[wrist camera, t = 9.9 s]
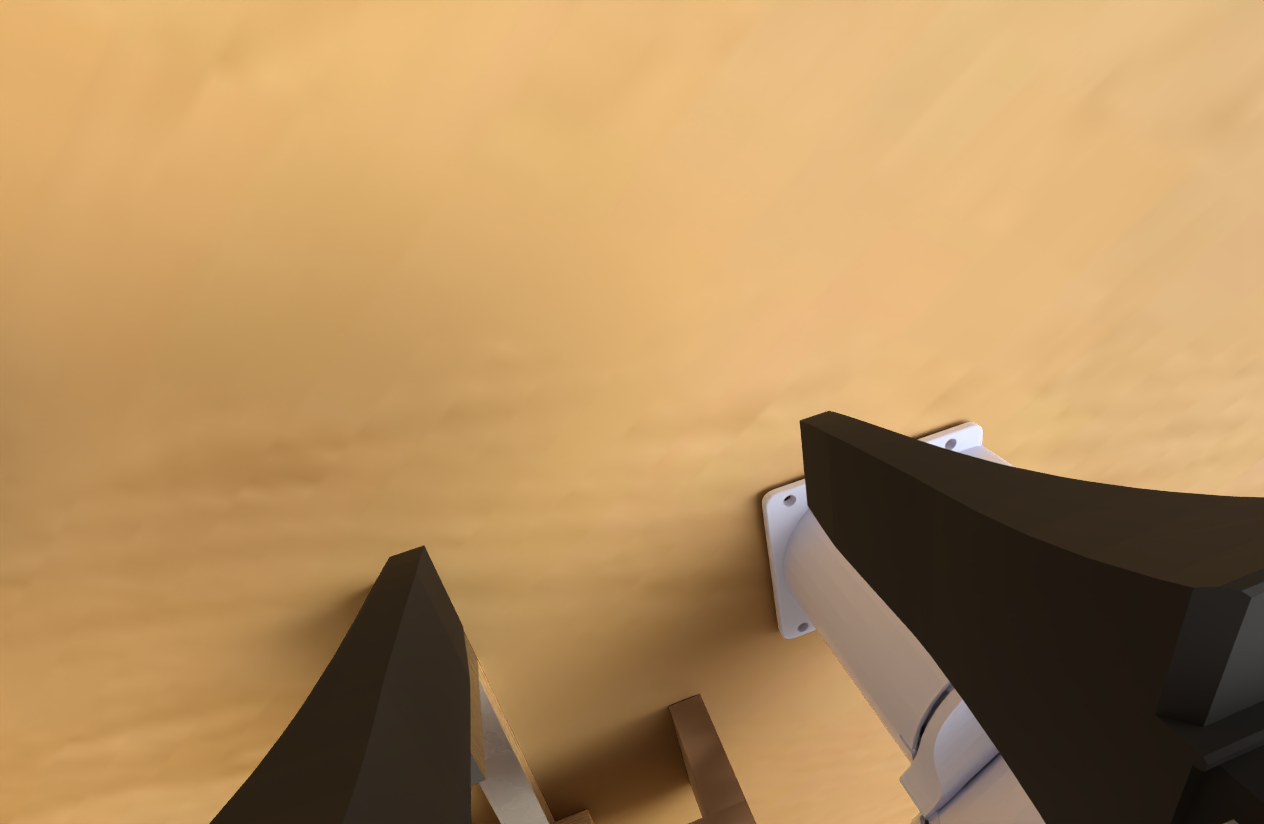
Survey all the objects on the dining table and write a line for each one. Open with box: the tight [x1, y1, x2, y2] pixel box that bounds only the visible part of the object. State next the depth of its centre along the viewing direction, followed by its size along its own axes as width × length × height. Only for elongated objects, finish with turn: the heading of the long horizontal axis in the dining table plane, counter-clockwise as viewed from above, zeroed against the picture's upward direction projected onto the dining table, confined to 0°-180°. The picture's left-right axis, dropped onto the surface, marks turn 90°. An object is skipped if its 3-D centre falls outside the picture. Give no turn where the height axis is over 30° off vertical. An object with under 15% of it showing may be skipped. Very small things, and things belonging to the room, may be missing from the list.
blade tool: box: [464, 632, 593, 824], centre depth 24 cm, size 18×5×5 cm, turn 12°
